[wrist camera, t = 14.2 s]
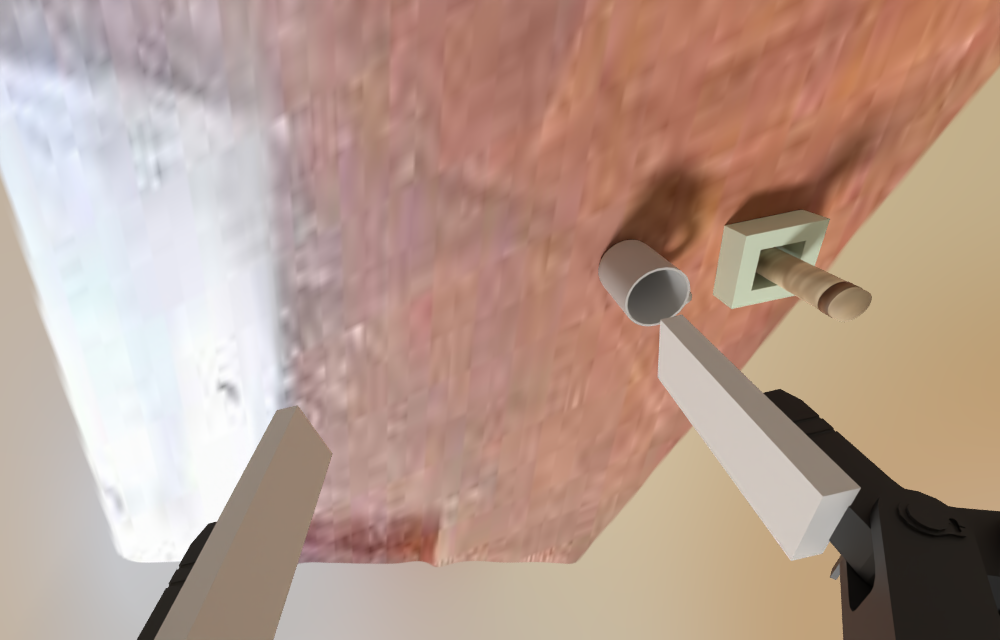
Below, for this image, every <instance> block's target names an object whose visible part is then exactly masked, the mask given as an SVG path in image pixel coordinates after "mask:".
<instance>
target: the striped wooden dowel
mask: <svg viewBox="0 0 1000 640" xmlns="http://www.w3.org/2000/svg"><path fill="white" fill-rule="evenodd" d="M756 273H758V274H760V275H761V276H763V277H765V278H766V279H768V280H770V281H771V282H773V283H775V284H776V285H778V286H780V287H782V288H783V289H785V290H787V291H788V292H790V293H792V294H793V295H795V296H797V297H798V298H800V299H802V300H804V301H805V302H807V303H809V304H810V305H812V306H814V307H816V308H817V309H819V310H820V311H821V312H823V313H825V314H826V315H828V316H830V317H832V318H834V319H836V320H837V321H840V322H847V321H850V320H853V319H855V318H857V317H858V316H860V315H861V314H862V313H863V312H864V311H865V310H866V309H867V308H868V306H869V305H870V303H871V299H872V296H871V294H870V293H869V292H867V291H865V290H863V289H862V288H860V287H858V286H856V285H854V284H852V283H850V282H847V281H844V280H842V279H840V278H838V277H836V276H834V275H832V274H830V273H828V272H826V271H824V270H822V269H819V268H817V267H815V266H813V265H811V264H809V263H807V262H805V261H803V260H801V259H799V258H797V257H794V256H792V255H790V254H788V253H786V252H784V251H782V250H780V249H778V248H776V247H773V248H768V249H763V250H761V251H760V255H759V260H758V264H757V268H756Z"/></svg>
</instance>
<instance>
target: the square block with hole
mask: <svg viewBox="0 0 1000 640" xmlns="http://www.w3.org/2000/svg"><path fill="white" fill-rule="evenodd" d="M829 220H830V219H829V218H826V217H823V216H820V215H817V214H814V213H811V212H808V211H805V210H797V211H792V212H787V213H782V214H778V215H773V216H768V217H763V218H758V219H754V220H749V221H744V222H739V223H734V224H729V225H725V226H724V231H723V237H722V243H721V249H720V255H719V261H718V267H717V273H716V278H715V284H714V290H713V295H714V296H715V297H717V298H718V299H719V300H721V301H722V302H723V303H724V304H726V305H727V306H728V307H730V308H731V309H733V308H738V307H743V306H747V305H752V304H757V303H762V302H766V301H771V300H776V299H781V298H785V297H790V296H795V295H793V294H792V293H790V292H788V291H787V290H785V289H783V288H782V287H780V286H778V285H776V284H775V283H773V282H771V281H770V280H768V279H766V278H765V277H763V276H761V275H760V274H758V273H756V268H757V264H758V260H759V255H760V251H761V250H763V249H768V248H773V247H776V248H778V249H780V250H782V251H784V252H786V253H788V254H790V255H792V256H794V257H797V258H799V259H801V260H803V261H805V262H807V263H809V264H811V265H813V266H815V263H816V260H817V257H818V254H819V251H820V248H821V245H822V242H823V239H824V236H825V233H826V230H827V226H828V223H829Z"/></svg>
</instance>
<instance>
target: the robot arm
mask: <svg viewBox="0 0 1000 640" xmlns="http://www.w3.org/2000/svg"><path fill="white" fill-rule="evenodd" d="M658 378H659V380H660V381H661V382H662V384H663V385H664V387H665V388H666V389H667V391H668V392H669V393H670V395H671V396H672V398H673V399H674V400H675V402H676V403H677V404H678V406H679V407H680V409H681V410H682V411H683V413H684V414H685V415H686V417H687V418H688V420H689V421H690V422H691V424H692V425H693V426H694V428H695V429H696V431H697V432H698V433H699V435H700V436H701V438H702V439H703V440H704V442H705V443H706V444H707V446H708V447H709V449H710V450H711V451H712V453H713V454H714V455H715V456H716V458H717V460H718V461H719V462H720V464H721V465H722V466H723V468H724V469H725V470H726V472H727V473H728V475H729V476H730V477H731V479H732V480H733V482H734V483H735V484H736V486H737V487H738V488H739V490H740V491H741V493H742V494H743V495H744V497H745V498H746V499H747V501H748V502H749V504H750V505H751V506H752V508H753V509H754V511H755V512H756V513H757V515H758V516H759V517H760V519H761V520H762V522H763V523H764V524H765V526H766V527H767V528H768V530H769V531H770V533H771V534H772V535H773V537H774V538H775V540H776V541H777V542H778V544H779V545H780V546H781V548H782V549H783V551H784V552H785V553H786V555H787V556H788V557H789V559H790V560H791V561H792V560H796V559H801V558H805V557H810V556H814V555H818V554H822V553H823V552H824V550H825V548H826V546H827V545H828V543H829V542H831V543H832V544H833V545H834V546H835V548H836V549H837V550H838V551H839V552H840V554H841V556H840V558H839V559H838V561H837V562H836V564H835V565H834V567H833V568H832V571H831V575H830V578H833V579H835V580H836V579H837V578H838V577H839V575H840V582H841V599H842V601H841V602H842V622H843V640H1000V511H988V510H977V509H966V508H956V507H950V506H947V505H946V504H944V503H942V502H941V501H939V500H937V499H936V498H933V497H930V496H928V495H926V494H923V493H921V492H918V491H913V490H908V489H904V488H902V487H901V486H900V485H898V484H897V483H896V482H894V481H893V480H892V479H891V478H890V477H888V476H887V475H886V474H885V473H884V472H883V471H882V470H880V469H879V468H878V467H877V466H876V465H875V464H874V463H873V462H871V461H870V460H869V459H868V458H867V457H866V456H864V455H863V454H862V453H861V452H860V451H859V450H858V449H857V448H856V447H854V446H853V445H852V444H851V443H850V442H849V441H847V440H846V439H845V438H844V437H843V436H842V435H841V434H840V433H838V432H837V431H836V432H835V431H834V429H833V427H832V426H831V425H829V424H828V423H827V422H826V421H825V420H824V419H821V418H819V415H818V414H817V413H816V412H815V411H813V410H812V409H811V408H810V407H809V406H808V405H807V404H805V403H804V402H803V401H802V400H800V399H798V398H797V397H795V396H793V395H791V394H789V393H787V392H785V391H783V390H781V389H778V390H774V391H769V392H765V393H762V392H761V391H760V390H759V389H758V388H757V387H756V386H755V385H754V384H753V383H752V382H751V381H750V380H749V379H748V378H747V377H746V376H745V375H744V374H743V373H742V372H741V371H740V370H739V369H738V368H737V367H736V366H735V365H733V364H732V363H731V362H730V361H729V360H728V359H727V358H726V357H725V356H724V355H723V354H722V353H721V352H720V351H719V350H718V349H717V348H716V347H715V346H714V345H713V344H712V343H711V342H710V341H709V340H708V339H707V338H706V337H705V336H703V335H702V334H701V333H700V332H699V331H698V330H697V329H696V328H695V327H694V326H693V325H692V324H691V323H690V322H689V321H688V320H687V319H686V318H685V317H684V316H683V315H678V316H674V317H669V318H665V319H661V320H660V340H659V361H658ZM331 457H332V452H331V451H330V450H329V448H328V447H327V445H326V444H325V443H324V441H323V440H322V438H321V437H320V436H319V434H318V433H317V432H316V430H315V429H314V427H313V426H312V425H311V423H310V422H309V420H308V419H307V418H306V416H305V415H304V414H303V412H302V411H301V409H300V408H299V407H298V405H297V406H293V407H289V408H285V409H280V410H277V411H276V413H275V414H274V416H273V418H272V420H271V422H270V424H269V426H268V428H267V429H266V431H265V433H264V435H263V437H262V439H261V441H260V443H259V444H258V446H257V448H256V450H255V452H254V454H253V456H252V457H251V459H250V461H249V463H248V465H247V467H246V469H245V471H244V472H243V474H242V476H241V478H240V480H239V482H238V484H237V485H236V487H235V489H234V491H233V493H232V495H231V497H230V499H229V500H228V502H227V504H226V506H225V508H224V510H223V512H222V514H221V515H220V517H219V519H218V521H217V522H213V523H209V524H208V525H207V526H206V527H205V528H204V530H203V531H202V532H201V533H200V534H199V535H198V536H197V538H196V539H195V540H194V541H193V542H192V543H191V545H190V547H189V549H188V550H187V552H186V554H185V556H184V557H183V559H182V561H181V563H180V564H179V569H178V570H176V572H175V573H174V575H173V577H172V579H171V580H170V582H169V587H168V588H166V589H165V591H164V593H163V595H162V596H161V598H160V600H159V602H158V603H157V605H156V607H155V609H154V611H153V612H152V614H151V616H150V618H149V619H148V621H147V623H146V624H145V626H144V628H143V630H142V632H141V633H140V635H139V637H138V639H137V640H273V639H274V636H275V633H276V629H277V626H278V623H279V620H280V617H281V614H282V611H283V607H284V604H285V601H286V598H287V595H288V592H289V588H290V585H291V582H292V579H293V576H294V573H295V570H296V567H297V564H298V560H299V557H300V554H301V551H302V548H303V545H304V542H305V538H306V535H307V532H308V529H309V526H310V523H311V520H312V516H313V513H314V510H315V507H316V504H317V501H318V498H319V494H320V491H321V488H322V485H323V482H324V479H325V476H326V473H327V469H328V466H329V463H330V460H331Z"/></svg>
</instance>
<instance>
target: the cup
mask: <svg viewBox="0 0 1000 640" xmlns="http://www.w3.org/2000/svg"><path fill="white" fill-rule="evenodd" d="M598 275H599V279H600V281H601V283H602V284H603V286H604V287H605V289H606V290H607V291H608V292H609V294H610V295H611V296H612V297H613V299H614V300H615V301H616V302H617V304H618V305H619V306H620V307H621V309H622V310H623V311H624V312H625V314H626V315H627V316H628V317H629V319H630V320H632V321H633V322H634V323H636V324H639V325H641V326H654V325H659V324H660V320H661V319H665V318H669V317H674V316H675V315H676V314H678V313H679V312H680V311H681V309H682V308H683V307H684V305H685V304H687V303H688V302H690V301H691V299H692V294H691V292H690V283H689V280H688V278H687V276H686V275H685V274H684V273H683V272H682V271H680V270H679V269H678V268H677V267H675V266H674V265H673V264H671V263H670V262H669V261H667V260H666V259H665V258H664V257H662V256H661V255H660V254H658V253H657V252H656V251H654V250H653V249H652V248H651V247H649V246H648V245H647V244H645V243H643V242H641V241H638V240H625V241H622V242H619V243H617V244H615V245H614V246H612V247H611V248H610V249H609V250H608V251H607V252H606V253H605V254H604V256H603V257H602V259H601V261H600V264H599V268H598Z"/></svg>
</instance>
